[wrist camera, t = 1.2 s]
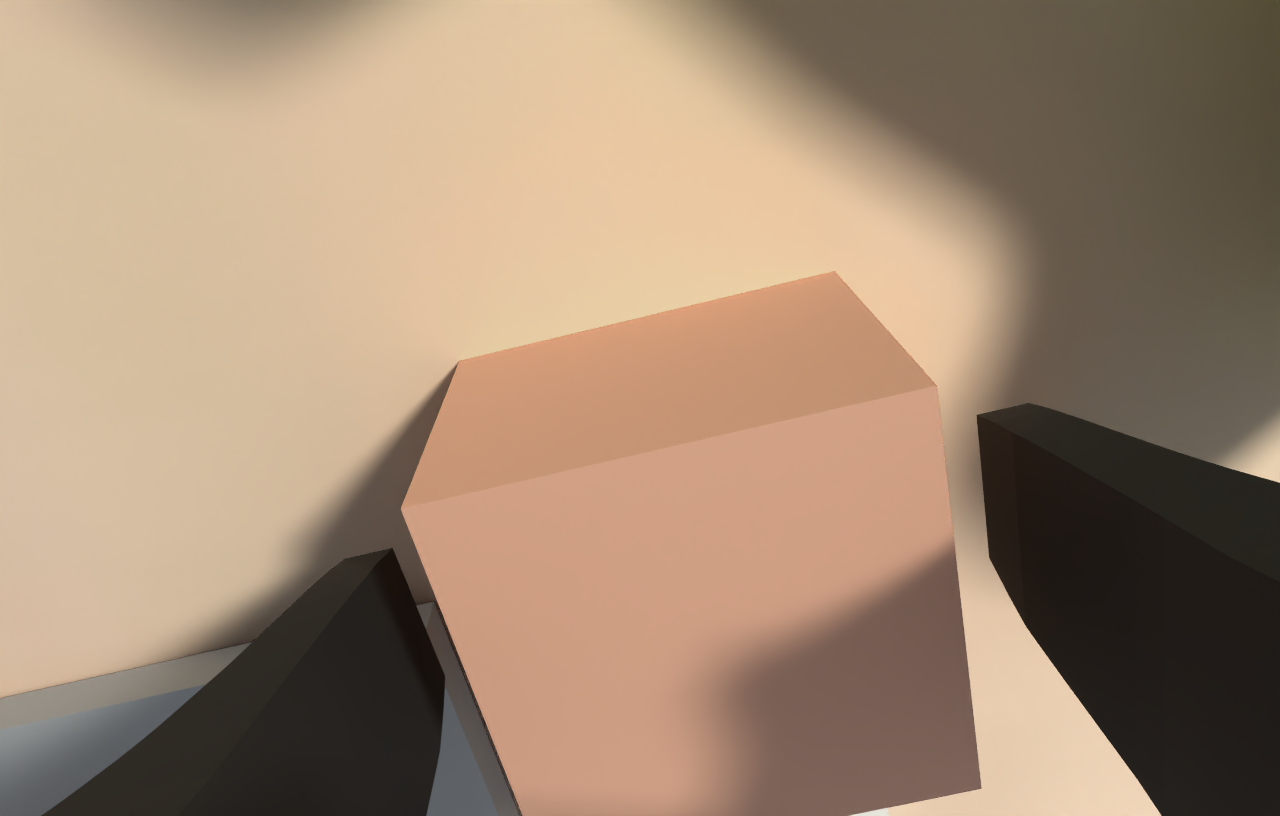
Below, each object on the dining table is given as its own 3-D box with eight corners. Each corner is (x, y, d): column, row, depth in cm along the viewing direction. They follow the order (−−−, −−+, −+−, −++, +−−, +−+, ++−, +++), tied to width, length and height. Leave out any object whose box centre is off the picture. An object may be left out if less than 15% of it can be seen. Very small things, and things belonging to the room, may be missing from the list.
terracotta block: (880, 580, 14) (981, 787, 10) (561, 650, 14) (547, 876, 10) (832, 268, 12) (937, 385, 8) (461, 356, 12) (400, 508, 8)
